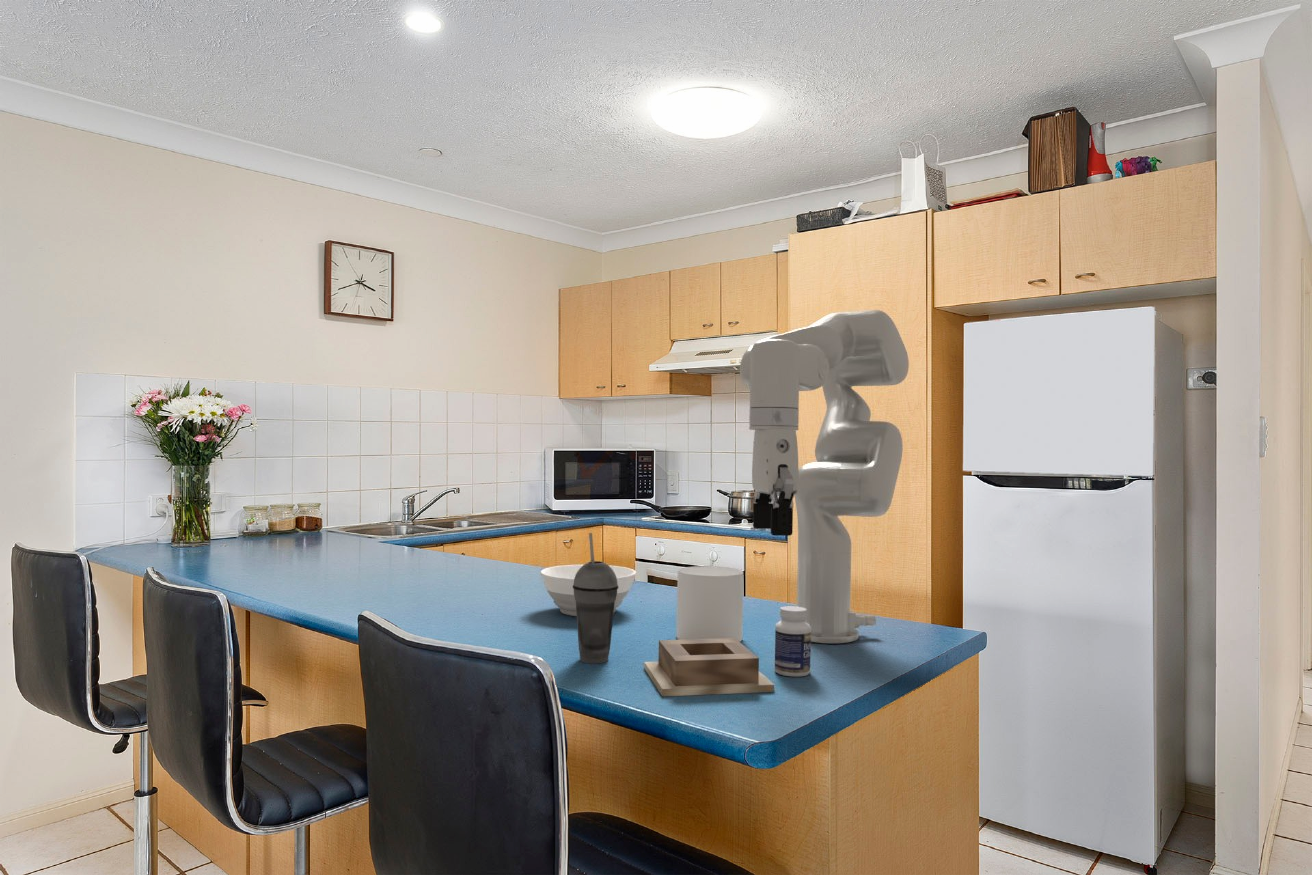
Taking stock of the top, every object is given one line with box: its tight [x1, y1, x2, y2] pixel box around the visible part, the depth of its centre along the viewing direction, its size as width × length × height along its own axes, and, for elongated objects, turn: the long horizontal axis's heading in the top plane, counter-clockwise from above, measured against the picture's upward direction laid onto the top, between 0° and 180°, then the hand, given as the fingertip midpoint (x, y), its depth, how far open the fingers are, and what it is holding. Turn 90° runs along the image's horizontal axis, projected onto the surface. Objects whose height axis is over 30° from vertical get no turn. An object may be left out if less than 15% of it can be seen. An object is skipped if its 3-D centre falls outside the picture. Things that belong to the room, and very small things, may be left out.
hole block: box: [643, 638, 775, 697], centre depth 120 cm, size 16×14×4 cm
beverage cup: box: [573, 532, 618, 664], centre depth 130 cm, size 7×7×20 cm
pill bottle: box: [774, 605, 812, 678], centre depth 125 cm, size 5×5×10 cm
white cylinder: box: [676, 565, 744, 643], centre depth 146 cm, size 12×12×12 cm
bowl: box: [540, 563, 637, 617], centre depth 167 cm, size 20×20×8 cm
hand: (771, 531), depth 126 cm, fingers open, 9 cm apart
